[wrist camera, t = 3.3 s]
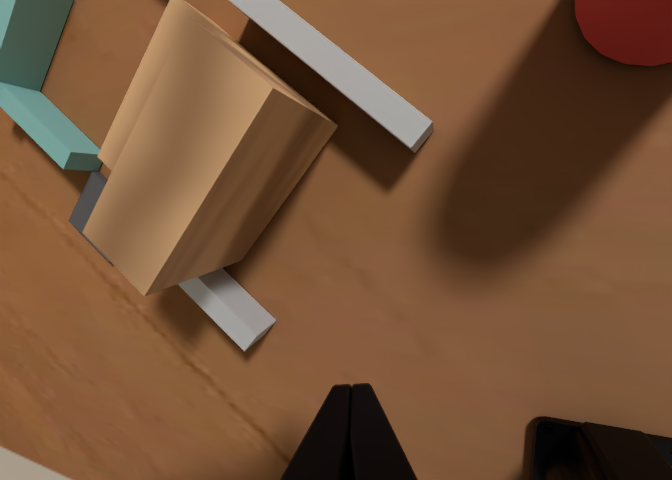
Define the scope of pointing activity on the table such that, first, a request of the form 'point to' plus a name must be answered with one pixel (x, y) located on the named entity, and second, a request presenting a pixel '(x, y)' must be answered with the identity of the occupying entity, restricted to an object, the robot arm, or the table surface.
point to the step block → (199, 155)
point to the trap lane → (81, 153)
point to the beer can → (628, 29)
